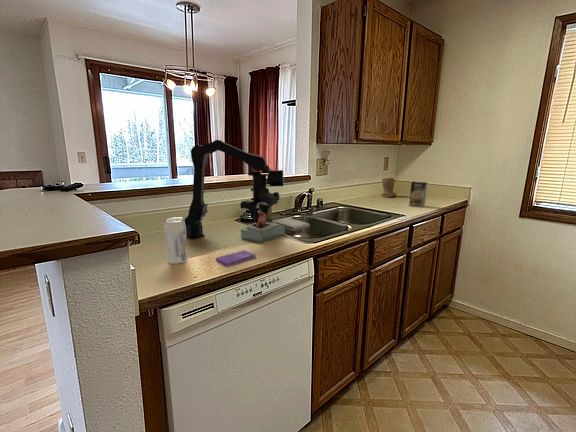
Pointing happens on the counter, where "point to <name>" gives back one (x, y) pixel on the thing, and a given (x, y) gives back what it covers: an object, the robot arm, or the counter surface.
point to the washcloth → (292, 224)
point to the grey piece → (262, 232)
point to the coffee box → (418, 194)
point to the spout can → (261, 220)
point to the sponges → (235, 258)
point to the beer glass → (175, 239)
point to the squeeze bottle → (268, 214)
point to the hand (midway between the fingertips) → (260, 221)
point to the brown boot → (388, 187)
